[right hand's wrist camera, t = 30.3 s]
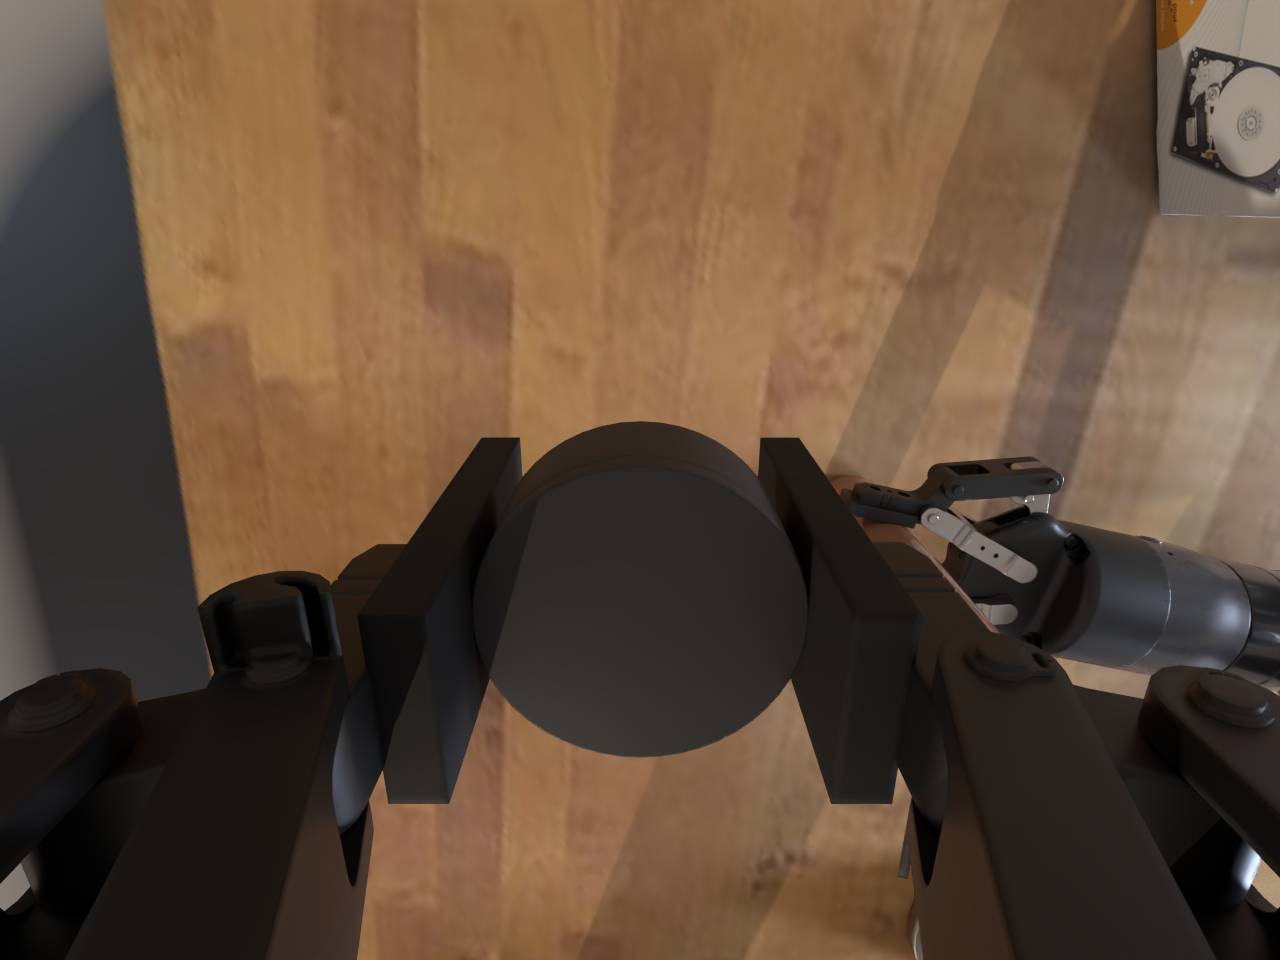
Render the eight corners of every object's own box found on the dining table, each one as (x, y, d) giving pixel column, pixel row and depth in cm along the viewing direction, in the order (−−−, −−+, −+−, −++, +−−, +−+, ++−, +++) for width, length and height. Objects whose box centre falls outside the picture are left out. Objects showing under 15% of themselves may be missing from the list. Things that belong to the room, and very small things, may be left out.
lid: (827, 601, 12) (864, 676, 10) (592, 712, 13) (584, 802, 11) (697, 364, 11) (711, 399, 9) (442, 507, 12) (401, 569, 10)
